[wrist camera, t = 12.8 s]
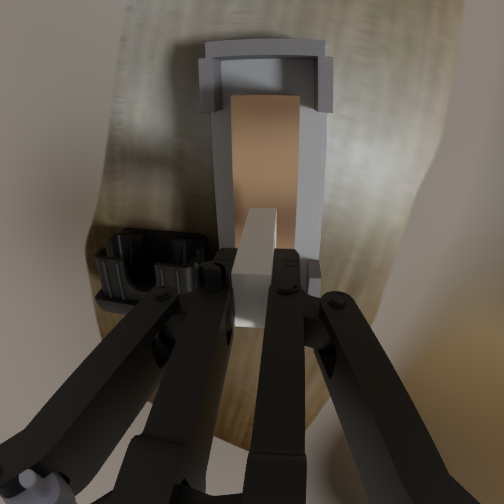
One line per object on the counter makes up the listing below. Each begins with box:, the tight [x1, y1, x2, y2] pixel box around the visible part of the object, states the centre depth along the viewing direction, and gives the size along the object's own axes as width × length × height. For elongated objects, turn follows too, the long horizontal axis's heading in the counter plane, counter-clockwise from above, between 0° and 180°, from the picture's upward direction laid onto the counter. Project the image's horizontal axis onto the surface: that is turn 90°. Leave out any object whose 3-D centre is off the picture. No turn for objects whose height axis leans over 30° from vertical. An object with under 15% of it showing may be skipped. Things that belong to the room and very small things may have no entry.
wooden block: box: [231, 94, 300, 249], centre depth 23 cm, size 16×4×6 cm, turn 1°
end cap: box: [95, 228, 208, 315], centre depth 29 cm, size 10×7×7 cm
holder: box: [198, 38, 333, 322], centre depth 25 cm, size 24×9×4 cm, turn 1°
